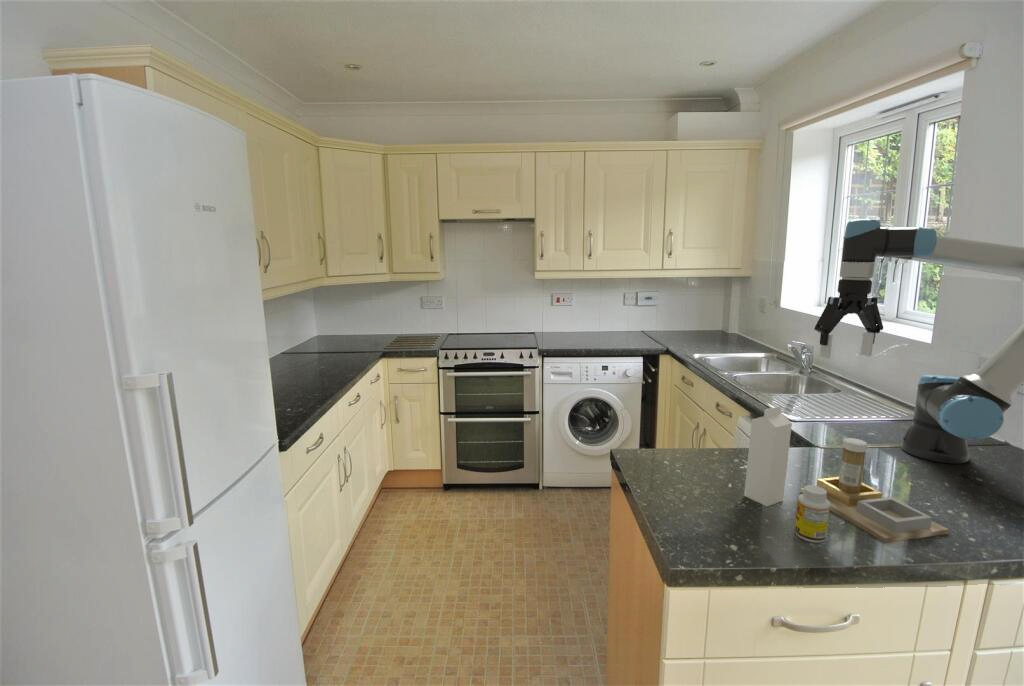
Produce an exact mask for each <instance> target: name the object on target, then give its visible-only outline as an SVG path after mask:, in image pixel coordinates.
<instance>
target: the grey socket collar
mask: <svg viewBox="0 0 1024 686" xmlns="http://www.w3.org/2000/svg"><path fill="white" fill-rule="evenodd" d="M887 510H891V511H893V512H895V513H897V514H898V515H900V516H902V517H904V518H900V519H895V518H893V517H891V516H889V515H888V514H886V513H884V512H882V511H887ZM856 512H858V513H860V514H861V515H863V516H865V517H867V518H868V519H870V520H872V521H874V522H876V523H877V524H879V525H881V526H883V527H884V528H886V529H888V530H890V531H891V532H893V533H902V532H909V531H917V530H924V529H930V527H931V522H932V521H933V517H932V516H930V515H928V514H926V513H924V512H922V511H920V510H918V509H916V508H914V507H912V506H910V505H908V504H906V503H905V502H902V501H900V500H898V499H896V498H894V497H892V496H890V497H889V496H886V498H878V499H869V500H861V501H858V502H857V509H856Z"/></svg>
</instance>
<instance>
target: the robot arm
mask: <svg viewBox="0 0 1024 686" xmlns="http://www.w3.org/2000/svg"><path fill="white" fill-rule="evenodd" d="M842 245H843V246H842V255H841V262H840V270H839V277H840V279H839V280H838V286H837V293H839V295H838V297H837V296H829V297H828V298H827V303H826V306H825V307H824V309H823V311H822V312H821V315H820V317H819V319H818V320H817V322H816V324H815V326H814V330H815V331H817V333H820V337H819V345H820V349H819V357H822V358H826V359H830V358H831V350H832V345H833V344H832V343H833V336H834V335H833V333H832V331H834V329H835V328H836V326H837V325H838V324H839V323H840V322H841V321H842V320H843V318H844V317H845V316H847V315H848V314H849V315H851V314H856V315H857V316H858V318H859V320H860V322H861V324H862V325H863V328H864V329H865V330H866V331H863V334H862V340H861V348H860V356H866V357H872V353H873V345H874V344H875V339H876V335H877V334H880V333H881V331H883V330H884V326H883V321H882V317H881V314H880V311H879V307H878V297H877V296H868V295H870V294H871V293H872V285H873V281H872V280H871V279H872V278H874V272H875V271H874V270H875V265H876V258H877V257H879V258H880V257H881V258H882V257H883V258H894V259H902V260H908V261H915V262H921V263H926V264H927V263H928V264H932V265H933V264H934V265H939V266H946V267H951V268H952V267H953V268H958V269H966V270H970V271H977V272H983V273H990V274H997V275H1002V276H1003V275H1004V276H1009V277H1015V278H1019V279H1020V281H1022V282H1023V283H1024V247H1023V246H1016V245H1014V246H1013V245H1009V244H1008V245H1007V244H999V243H996V242H995V243H994V242H987V241H978V240H974V239H973V240H972V239H965V238H964V239H963V238H957V237H952V236H951V237H950V236H943V235H937V231H936V229H935V228H933V227H926V226H925V227H924V226H923V227H922V226H918V227H917V226H916V227H915V226H912V227H911V226H909V227H908V226H907V227H906V226H905V227H903V226H901V227H886V226H884V227H883V226H882V225H881V221H880V220H879V219H870V218H869V219H853V220H849V221H848V222H847V223H846V226H845V231H844V236H843V243H842ZM1023 384H1024V322H1023V323H1022V324H1021V325H1020V326H1019V327H1018V328H1017V329H1016V331H1014V332H1013V333H1012V334H1011V335H1010V336H1009V337H1008V339H1007V340H1006V341H1005V342H1004V343H1002V344H1001V345H1000V347H999V348H997V350H995V352H994V353H993V354H991V356H990V357H988V358H987V360H985V362H984V363H983V364H982V365H981V366H980V367H978V368H977V370H976V371H974V373H972V374H965V375H964V374H963V375H961V376H960V377H959V376H949V375H943V374H941V375H938V374H923V375H921V376H920V377H919V381H918V383H917V391H916V397H915V404H914V410H913V417H912V422H911V425H910V426H909V428H908V429H907V431H906V433H905V435H904V436H903V438H902V439H901V445H900V447H901V450H903V451H904V452H906V453H908V454H910V455H912V456H914V457H917V458H920V459H924V460H927V461H933V462H936V463H937V462H938V463H943V464H951V465H952V464H954V465H956V464H957V465H958V464H959V465H960V464H965V463H967V462H969V457H970V450H969V445H968V442H967V441H969V440H971V441H972V440H973V441H975V440H982V439H983V440H984V439H986V438H989V437H991V436H993V435H994V434H997V432H999V431H1000V429H1001V428H1002V426H1003V424H1004V420H1005V419H1004V413H1005V412H1006V411H1007V410H1009V408H1010V407H1011V406H1012V405H1013V400H1012V395H1013V394H1014V393H1015V392H1016V391H1017V390H1018V389H1019V388H1020V387H1021V386H1023Z"/></svg>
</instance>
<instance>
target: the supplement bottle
mask: <svg viewBox="0 0 1024 686" xmlns="http://www.w3.org/2000/svg"><path fill="white" fill-rule="evenodd" d="M803 488H804V491H803V494H802V493H801V494H799V495H798V497H797V504H796V505H797V506H796V514H795V521H794V533H795V535H796V536H797V537H798V538H800V539H802V541H803V540H804V541H806V542H808V543H809V542H810V543H815V544H819V543H823V542H824V541H826V539H827V533H828V527H829V525H828V524H829V517H830V511H831V510H830V502H829V501H828V500H827V499H826V498H827V491H826V490H825V489H823V488H821V487H818V486H817V485H814V484H813V485H809V484H807V485H805V486H804V487H803Z"/></svg>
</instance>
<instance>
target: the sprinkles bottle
mask: <svg viewBox="0 0 1024 686" xmlns="http://www.w3.org/2000/svg"><path fill="white" fill-rule="evenodd" d="M867 450H868V443H867V442H866V441H865V440H862V439H859V438H853V437H847V438H844V439H843V441H842V456H841V457H842V458H841V461H840V462H841V463H840V469H839V476H838V477H839V485H838V488H839V489H841V490H843V491H845V492H847V493H849V494H855V493H860V488H861V484H862V483H863V477H864V476H863V475H864V473H863V472H864V468H865V467H864V465H865V458H866V453H867Z"/></svg>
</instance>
